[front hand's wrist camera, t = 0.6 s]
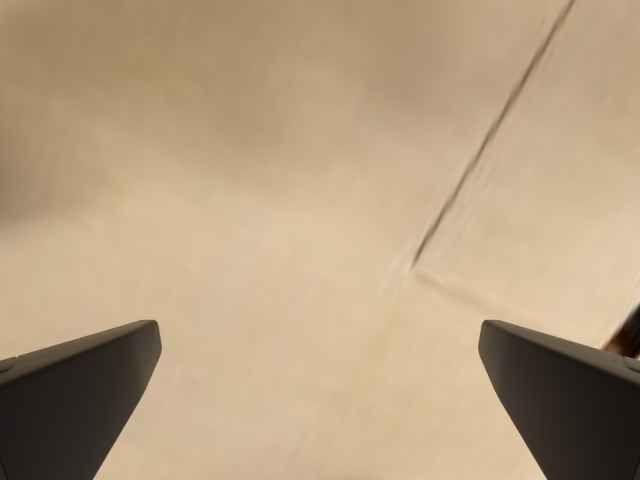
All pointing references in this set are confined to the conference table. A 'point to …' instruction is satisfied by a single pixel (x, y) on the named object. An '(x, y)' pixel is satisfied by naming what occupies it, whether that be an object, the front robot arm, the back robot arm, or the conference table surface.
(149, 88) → the conference table surface
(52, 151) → the conference table surface
